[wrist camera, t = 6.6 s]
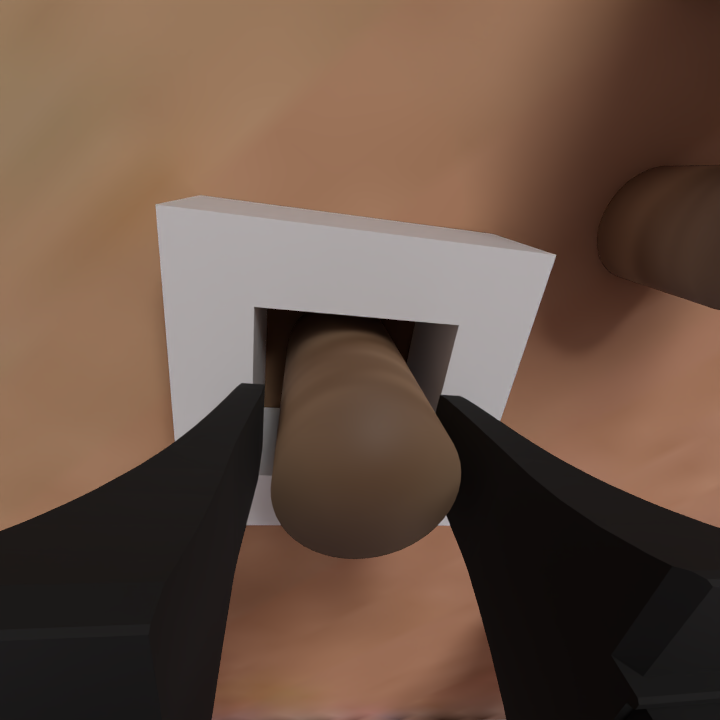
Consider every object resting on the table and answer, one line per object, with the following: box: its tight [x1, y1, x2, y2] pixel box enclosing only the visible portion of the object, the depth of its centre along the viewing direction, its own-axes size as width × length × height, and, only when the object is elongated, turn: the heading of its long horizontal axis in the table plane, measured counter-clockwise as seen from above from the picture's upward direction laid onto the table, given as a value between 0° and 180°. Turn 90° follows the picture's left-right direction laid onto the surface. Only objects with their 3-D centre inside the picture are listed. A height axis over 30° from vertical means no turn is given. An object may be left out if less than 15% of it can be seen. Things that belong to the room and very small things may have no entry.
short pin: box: [597, 165, 720, 310], centre depth 13 cm, size 4×4×4 cm
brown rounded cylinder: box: [271, 312, 461, 559], centre depth 12 cm, size 4×4×8 cm
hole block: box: [156, 195, 556, 525], centre depth 13 cm, size 10×10×4 cm
